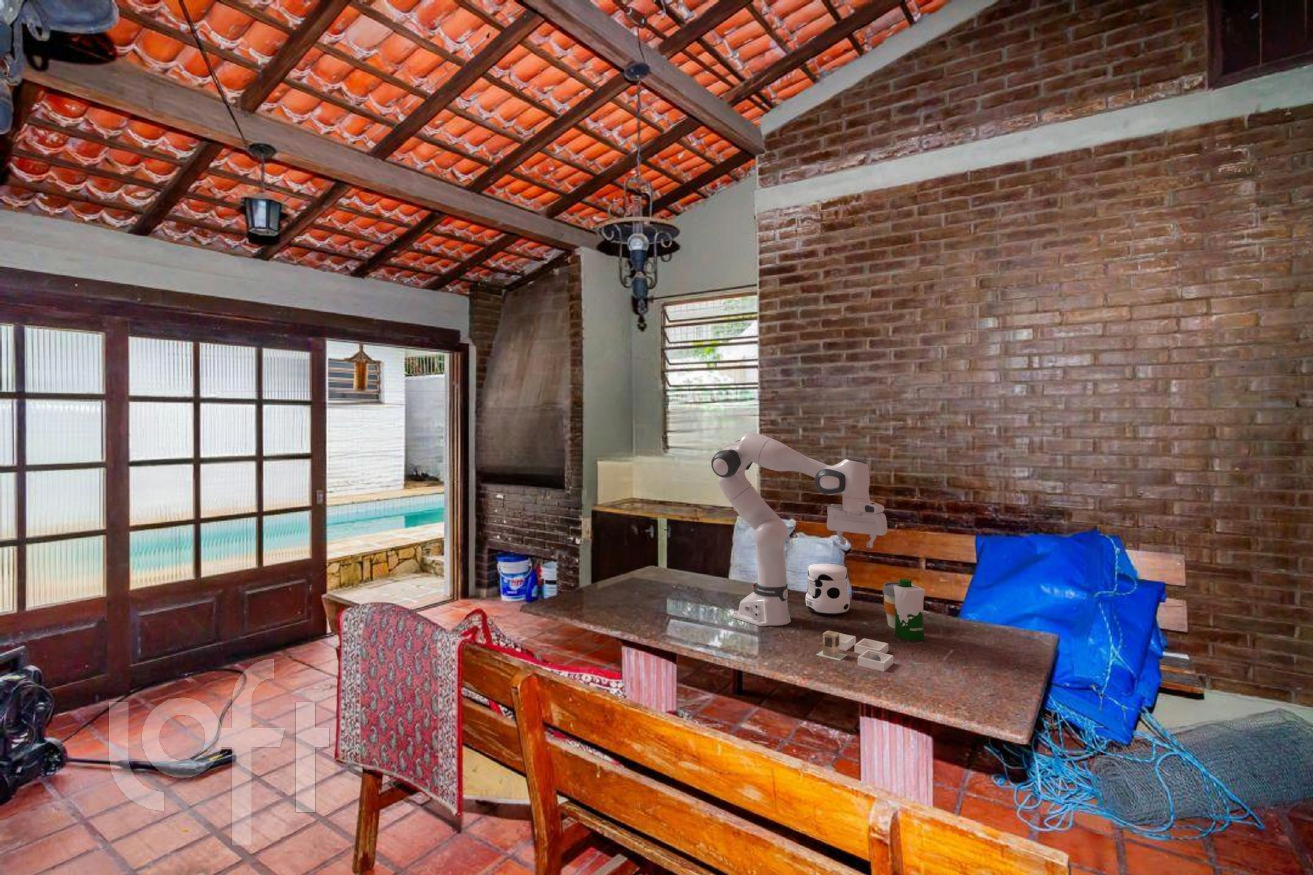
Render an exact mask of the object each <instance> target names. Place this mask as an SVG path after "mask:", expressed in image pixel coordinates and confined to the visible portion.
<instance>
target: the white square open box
mask: <svg viewBox="0 0 1313 875" xmlns="http://www.w3.org/2000/svg"><path fill="white" fill-rule="evenodd" d="M874 654H876V655H878V656H879V657H880V659H881V661H875V660H871V659H870V658H871V656H872V655H874ZM893 664H894V655H892V654H888V653H885V654H884V653H880V652H875V651H871V650H866V651H865V652H864V653H862V654H859V655H858V656H857V666H860V667H864V668H866V669H872V670H876V671H880V672H885V671H887V670H888V669H889V668H890V667H891V666H893Z"/></svg>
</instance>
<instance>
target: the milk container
mask: <svg viewBox="0 0 1313 875" xmlns="http://www.w3.org/2000/svg"><path fill="white" fill-rule="evenodd" d="M848 582H849V581H848V568H847V567H845V565H841V564H835V563H834V564H833V563H814V564H810V565H808V569H807V590H806V594H805V605H806V608H807V609H808V610H809V611H811V612H812V613H816V614H819V615H826V616H836V615H837V616H838V615H842V614H845V613H847V612H848V611H849V609H850V605H851V600H850V598H851V597H850V595H849V591H848V590H849V589H848Z"/></svg>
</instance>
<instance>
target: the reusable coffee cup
mask: <svg viewBox="0 0 1313 875" xmlns="http://www.w3.org/2000/svg"><path fill="white" fill-rule="evenodd" d="M911 584H912V585H915V586H917V585H916V584H913V583H911ZM896 585H899V581H890V582H885V583H883V588H882V594H883V605H884V612H885V613H886V620H887V625H888V626H889V627H890V628H893V629H895V593H894V587H893V586H896Z"/></svg>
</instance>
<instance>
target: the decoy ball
mask: <svg viewBox="0 0 1313 875" xmlns="http://www.w3.org/2000/svg"><path fill="white" fill-rule="evenodd" d="M870 659H871V660H875V661H881V659H880V657H879V656H878V655H876V654H874V655H872V656H871V658H870Z"/></svg>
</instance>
